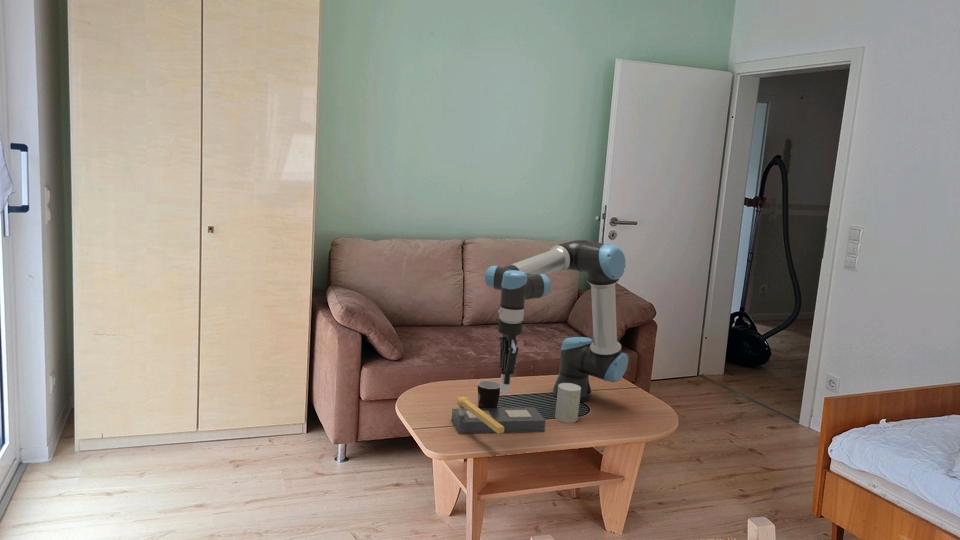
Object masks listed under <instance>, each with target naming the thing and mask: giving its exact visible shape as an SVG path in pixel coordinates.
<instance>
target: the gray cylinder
mask: <svg viewBox="0 0 960 540" xmlns="http://www.w3.org/2000/svg"><path fill="white" fill-rule="evenodd" d="M580 393H581V387H580V386H578V385H576V384H572V383H561V384H559V385H558V392H557V397H556V404H555V413H554V418H556V419H557V421H558V420H559V421H558V422H561V421H562V422H561V423H565V422H568V423H567V424H573V423H572V422H574V423H577V422H578V418H579V412H580V411H579V410H580V409H579V408H580V403H581V402H580ZM556 419H555V420H556ZM576 421H577V422H576ZM570 422H571V423H570Z"/></svg>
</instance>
